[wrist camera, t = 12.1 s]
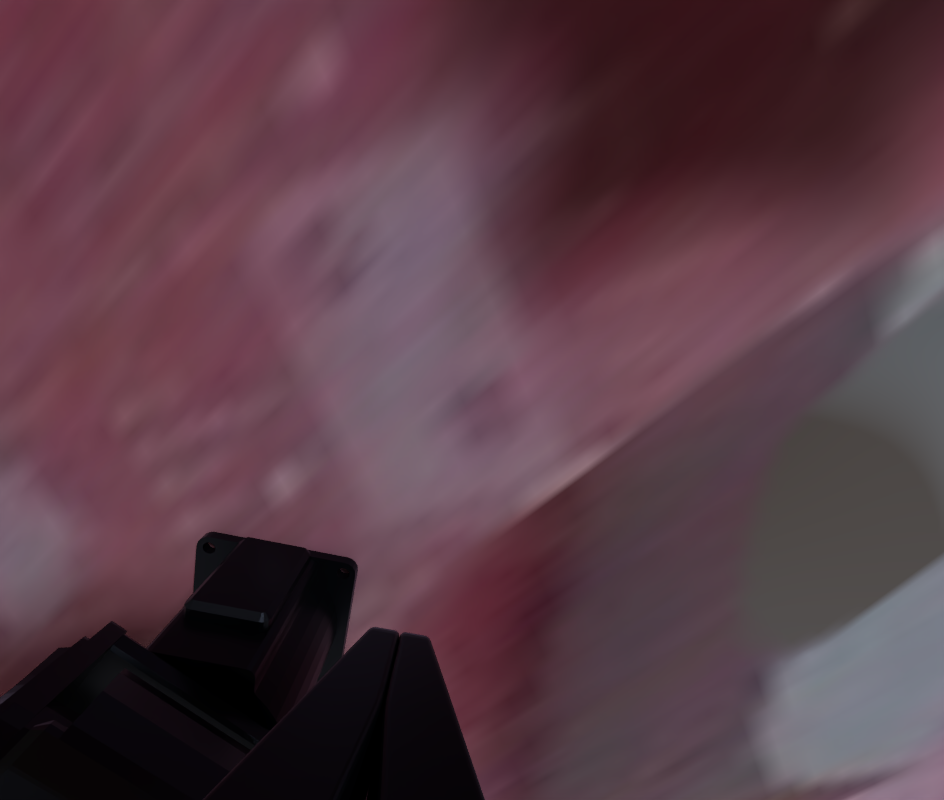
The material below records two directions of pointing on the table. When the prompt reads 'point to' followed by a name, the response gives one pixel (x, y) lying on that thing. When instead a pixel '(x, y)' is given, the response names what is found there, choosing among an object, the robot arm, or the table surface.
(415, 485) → the table surface
